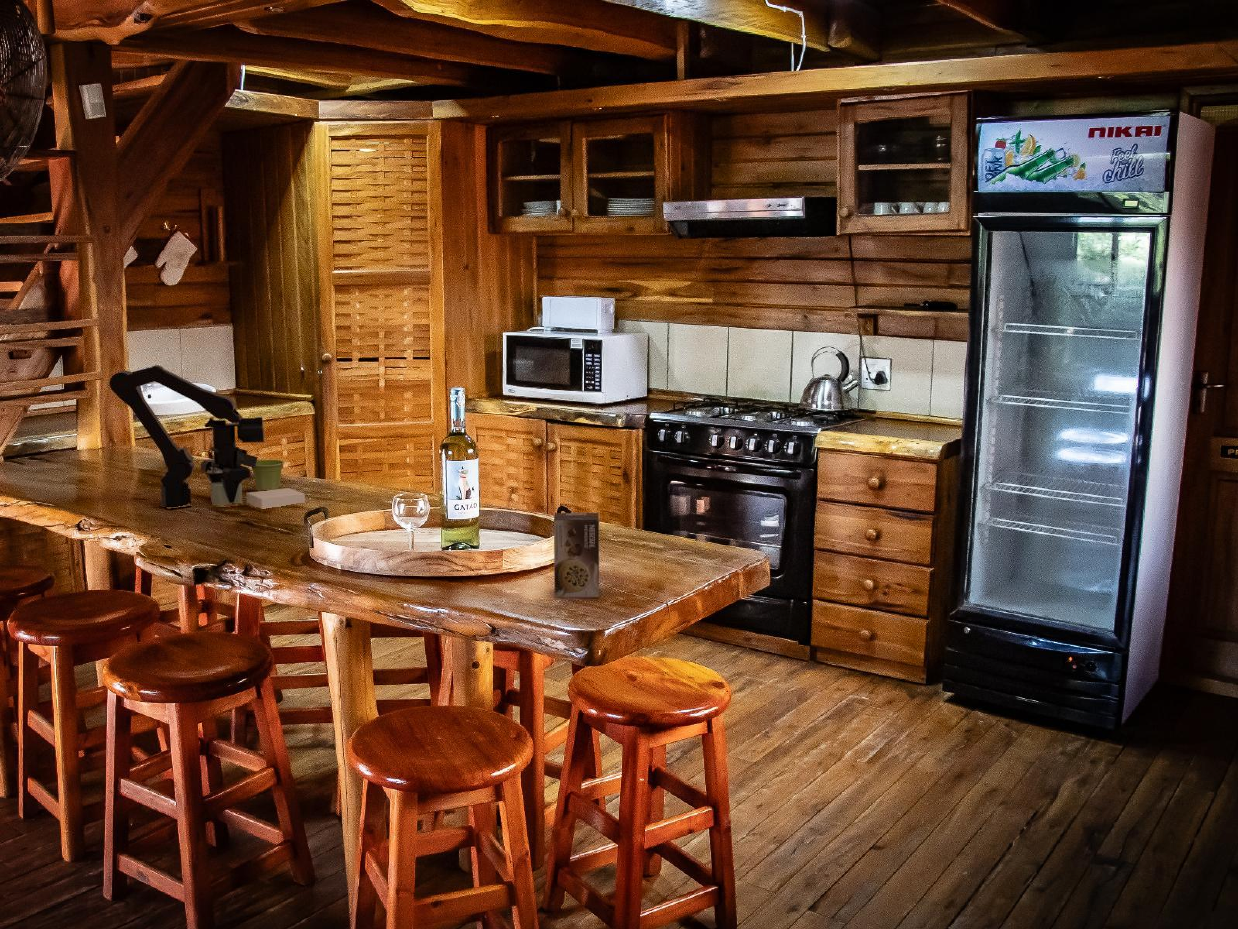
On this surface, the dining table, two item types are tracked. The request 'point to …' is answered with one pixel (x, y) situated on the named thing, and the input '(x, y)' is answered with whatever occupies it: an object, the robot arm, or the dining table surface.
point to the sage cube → (223, 494)
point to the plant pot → (267, 474)
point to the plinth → (275, 498)
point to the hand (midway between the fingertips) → (226, 500)
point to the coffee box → (576, 555)
